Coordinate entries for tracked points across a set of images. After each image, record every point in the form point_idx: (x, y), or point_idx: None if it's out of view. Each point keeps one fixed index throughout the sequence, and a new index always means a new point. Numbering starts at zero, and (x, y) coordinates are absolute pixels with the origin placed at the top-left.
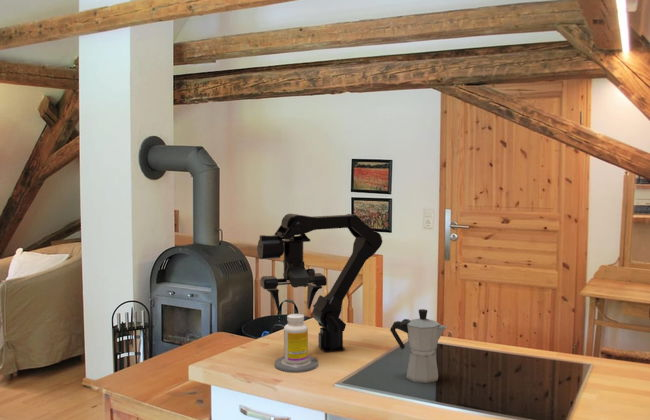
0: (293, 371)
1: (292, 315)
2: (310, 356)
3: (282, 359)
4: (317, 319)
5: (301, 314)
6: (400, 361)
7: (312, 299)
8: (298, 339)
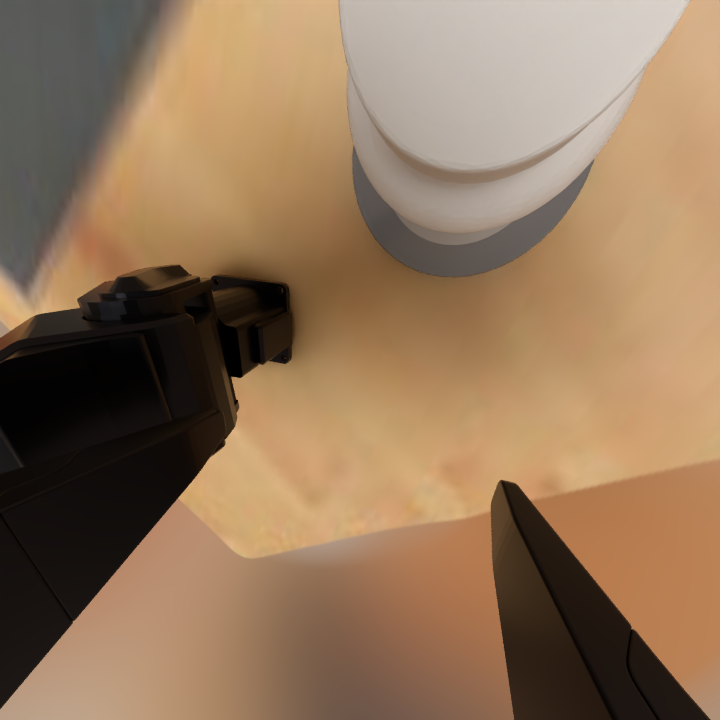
0: None
1: (553, 16)
2: (365, 215)
3: (513, 223)
4: (222, 371)
5: (359, 58)
6: (39, 41)
7: (101, 446)
8: None
